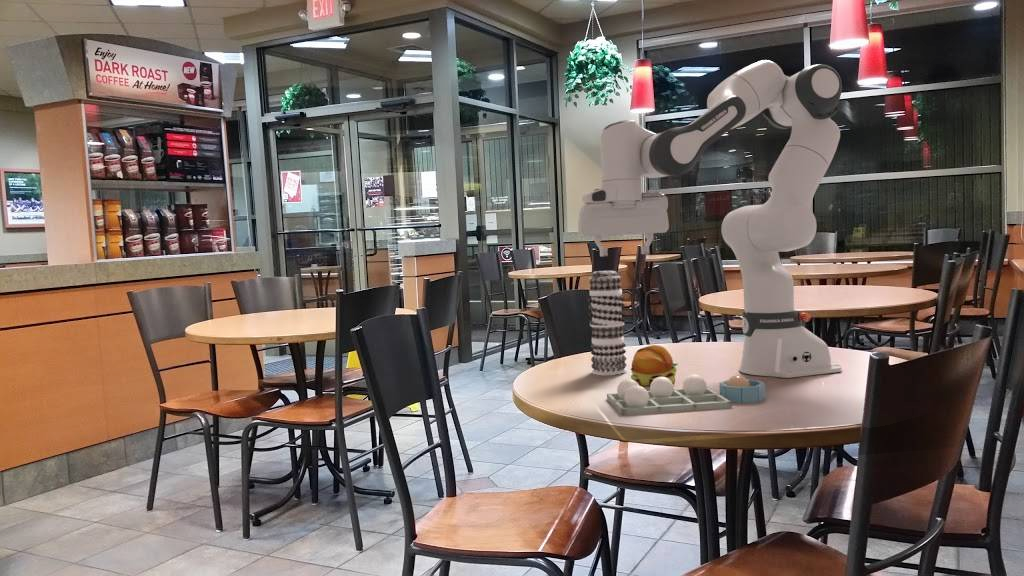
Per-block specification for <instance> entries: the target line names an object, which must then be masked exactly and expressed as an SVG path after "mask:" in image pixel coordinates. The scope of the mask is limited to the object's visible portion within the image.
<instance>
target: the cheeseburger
mask: <svg viewBox="0 0 1024 576" xmlns="http://www.w3.org/2000/svg"><path fill="white" fill-rule="evenodd" d="M673 361H674V360H673V357H672V355H671V354H670V352H669V350H667V348H666V347H664V346H663V345H657V344H652V345H648V346H643V347H640V348H639V349H638V350H637V349H636V351H635V353H634V355H633V359H632V362H631V368H630V371H631V373H632V374H631V375H630V379H632V380H634V381H636V382H637V383H638V384H639V386H642V387H643V388H647V387H648V388H650V385H651V382H652V381H653V380H654V379H655V378H657V377H666V378H668V379H669V380H670V381H671V382H672V384H673V386H674V385H675V383H676V373H677V368H676V367H677V366H678V365H679V364H678V363H674V362H673Z"/></svg>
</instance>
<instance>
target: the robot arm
mask: <svg viewBox="0 0 1024 576" xmlns="http://www.w3.org/2000/svg"><path fill="white" fill-rule="evenodd" d="M842 89H843V85H842V79H841V76H840V74H839V72H838V71H837V70H836V69H835V68H834V67H832V66H831V65H828V64H823V63H821V64H820V63H819V64H813V65H810V66H807V67H804V68H803V69H802V70H800V71H798V72H796V73H795V74H793V75H790V76H789V75H785V74H784V72H783V70H782V68H781V67H780V66H779V65H778V64H777V63H776V62H774V61H771V60H769V59H768V60H767V59H765V60H764V59H762V60H758V61H757V62H754V63H751V64H750V65H748V66H747V65H746V66H745V67H743V68H742V69H739V70H737V71H736V72H734V73H732V74H731V75H730V76H728V77H727V78H725V79H724V80H723V81H721V82H720V83H719V84H718V85H716V87H715V88H714V89H713V90H712V91H711V92H710V93H709V94H708V97H707V99H706V100H707V101H706V108H707V110H706V111H705V112H704V113H702V114H701V115H699V116H698V117H697V118H695V120H693V121H691V122H690V123H689V124H688V125H685V126H678V127H677V126H676V127H672V128H669V129H667V130H664V131H663V132H659V133H655V132H653V131H650V130H648V129H646V128H644V127H642V126H641V125H640V124H639V123H638V122H637V121H636V120H634V119H624V120H620V121H616V122H613V123H610V124H608V125H606V126H605V127H604V128H603V129H602V132H601V136H600V137H601V138H600V164H601V167H602V178H601V187H600V188H595V189H593V191H589V192H587V193H584V194H583V195H582V196H581V197H582V199H581V200H582V203H583V205H582V206H581V207H580V210H579V213H578V221H577V223H578V224H577V225H578V226H577V230H578V232H577V233H578V234H579V235H580V236H581V238H583V237H584V238H585V237H586V238H587V237H593V238H594V239H593V241H594V243H595V245H596V246H597V248H598V249H599V256H600V257H608V256H609V255H608V251H609V250H608V249H609V248H608V247H606V248H605V247H604V246H603V245H602V241H603V236H605V237H606V236H623V235H644V236H645V237H644V239H647V240H646V241H645V243H644V246H643V245H642V246H640V255H649V254H650V246H651V244H652V242H653V240H654V234H661V233H663V234H664V233H667V231H668V230H669V228H670V224H669V222H670V221H669V217H668V216H669V215H668V212H667V210H668V207H669V200H668V197H667V196H666V195H665V194H664V193H662V192H660V191H655V192H643V190H642V188H643V187H642V186H643V185H642V178H643V177H644V178H648V179H658V178H664V177H668V176H670V177H672V176H673V177H674V176H683V175H685V174H687V173H688V172H690V171H692V169H693V168H694V167H695V166H696V164H698V161H699V160H700V158H701V156H702V155H703V153H704V152H705V150H707V148H708V147H709V146H711V145H712V144H714V142H716V141H718V139H720V138H721V137H723V135H725V134H727V132H729V131H730V130H732V129H736V128H738V127H740V126H742V125H744V124H745V123H747V122H748V121H750V120H752V119H753V118H755V117H756V116H758V115H759V114H760V113H761V114H762V115H763V118H765V120H766V121H767V123H769V125H771V126H772V127H774V128H776V129H779V130H786V129H791V133H790V136H789V139H788V141H787V143H786V144H785V146H784V148H782V150H781V153H780V154H779V156H778V158H777V160H776V161H775V163H774V165H773V166H772V168H771V170H770V171H769V173H768V178H767V179H768V184H769V187H770V188H771V194H770V196H769V198H768V199H767V201H765V203H763V204H752V205H744V206H741V207H739V208H736V209H734V210H732V211H730V212H728V213H727V214H726V215H725V216H724V218H723V219H722V220H723V221H722V223H721V229H720V230H721V236H722V239H723V241H724V242H725V244H726V245H727V246H728V247H730V249H731V250H732V252H733V253H734V256H735V258H736V260H737V264H738V266H739V270H740V273H741V278H742V284H743V285H742V286H743V288H742V290H743V307H744V308H743V309H744V310H743V311H742V322H741V323H742V332H743V333H742V334H743V337H744V338H743V349H742V356H741V362H740V364H739V368H738V371H740V372H741V373H743V374H747V375H752V376H764V377H775V378H783V379H785V378H786V379H787V378H788V379H789V378H797V377H805V376H813V375H814V376H815V375H823V374H832V373H840V372H842V365H840V364H839V363H836V362H834V361H832V359H831V353H830V349H829V345H827V344H828V343H826V342H825V341H824V340H823V339H821V338H820V337H819V336H817V335H816V334H814V333H813V332H812V331H810V330H808V328H806V327H804V326H803V322H806V323H807V322H809V321H810V320H811V318H812V317H811V314H810V313H808V312H803V311H802V312H799V311H797V310H796V309H795V293H794V292H795V291H794V277H793V276H792V274H791V272H789V271H788V270H787V269H786V267H784V265H783V263H782V261H781V258H780V255H779V252H782V253H783V252H791V251H795V250H799V249H802V248H805V247H807V246H808V245H810V243H812V241H813V240H814V239H815V236H816V234H817V233H816V232H817V229H818V228H817V226H818V225H817V219H816V217H815V214H814V213H813V211H812V203H813V198H814V196H815V194H816V191H817V189H818V188H819V186H820V184H821V182H822V180H823V178H824V176H825V175H826V173H827V170H828V169H829V167H830V165H831V163H832V161H833V159H834V156H835V154H836V151H837V148H838V145H839V142H840V139H841V131H840V127H839V126H838V124H837V123H836V122H835V121H834V120H832V119H831V117H833V116H834V115H836V113H837V112H838V111H839V101H840V99H841V95H842V91H843V90H842Z"/></svg>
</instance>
